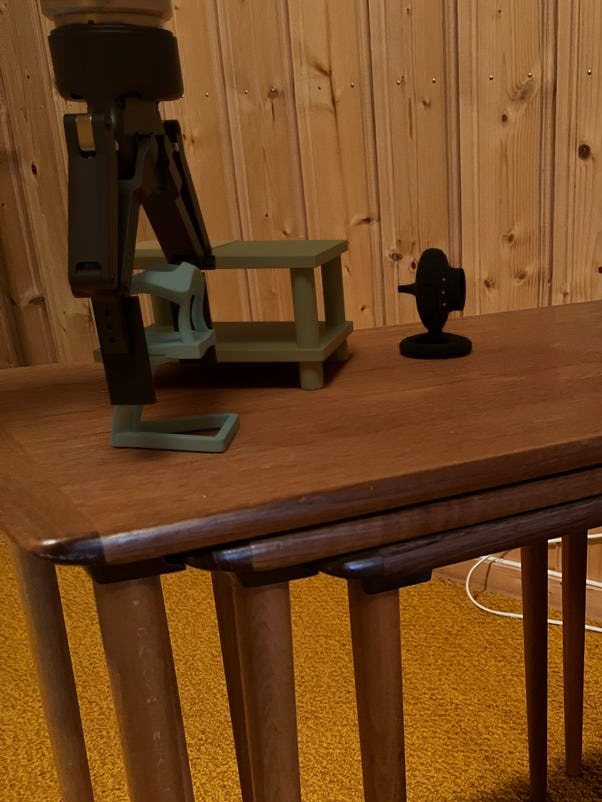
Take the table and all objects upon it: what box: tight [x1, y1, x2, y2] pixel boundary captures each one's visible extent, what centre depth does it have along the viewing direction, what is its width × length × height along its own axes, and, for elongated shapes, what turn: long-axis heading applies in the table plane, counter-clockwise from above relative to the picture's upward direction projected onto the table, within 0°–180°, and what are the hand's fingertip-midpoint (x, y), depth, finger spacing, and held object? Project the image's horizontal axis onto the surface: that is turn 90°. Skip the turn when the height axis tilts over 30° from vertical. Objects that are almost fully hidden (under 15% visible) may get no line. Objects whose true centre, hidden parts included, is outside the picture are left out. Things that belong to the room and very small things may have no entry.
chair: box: [100, 262, 240, 453], centre depth 68 cm, size 8×8×12 cm
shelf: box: [92, 239, 355, 391], centre depth 89 cm, size 20×16×11 cm
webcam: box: [397, 247, 473, 360], centre depth 98 cm, size 8×8×10 cm
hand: (169, 382), depth 68 cm, fingers open, 13 cm apart
